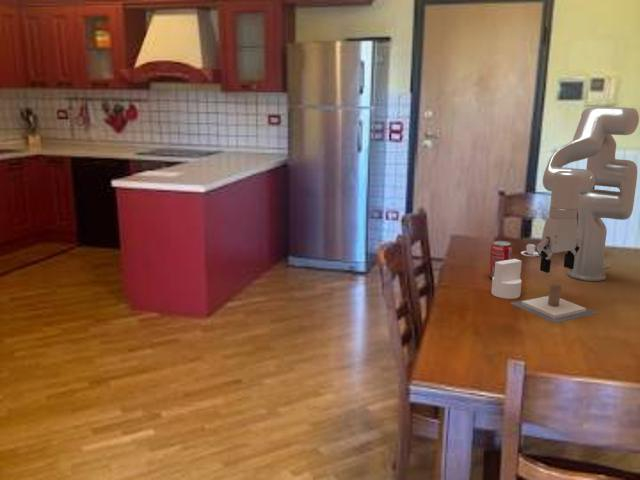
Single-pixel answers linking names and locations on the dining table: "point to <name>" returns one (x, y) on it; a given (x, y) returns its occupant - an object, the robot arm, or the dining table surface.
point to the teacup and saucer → (530, 250)
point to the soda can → (499, 254)
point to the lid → (553, 304)
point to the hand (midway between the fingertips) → (556, 269)
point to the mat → (560, 319)
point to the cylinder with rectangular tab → (507, 279)
